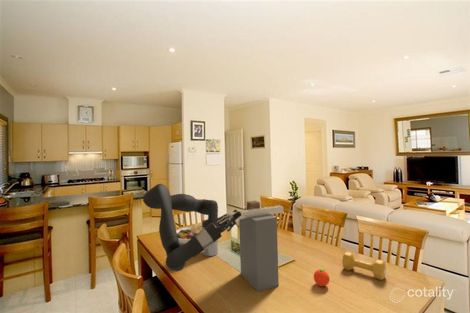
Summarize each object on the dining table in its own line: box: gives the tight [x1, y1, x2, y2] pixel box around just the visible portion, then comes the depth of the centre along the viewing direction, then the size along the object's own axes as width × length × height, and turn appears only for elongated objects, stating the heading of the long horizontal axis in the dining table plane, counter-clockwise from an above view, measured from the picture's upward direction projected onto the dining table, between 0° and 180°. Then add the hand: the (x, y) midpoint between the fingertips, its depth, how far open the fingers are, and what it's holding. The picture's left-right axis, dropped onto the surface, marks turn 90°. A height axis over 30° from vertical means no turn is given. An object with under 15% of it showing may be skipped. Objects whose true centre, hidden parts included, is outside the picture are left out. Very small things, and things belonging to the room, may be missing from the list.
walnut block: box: [246, 200, 261, 210], centre depth 123 cm, size 5×5×5 cm
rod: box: [227, 204, 284, 221], centre depth 115 cm, size 3×28×3 cm, turn 113°
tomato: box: [313, 268, 330, 287], centre depth 112 cm, size 8×7×7 cm
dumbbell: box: [341, 251, 387, 281], centre depth 121 cm, size 19×9×8 cm, turn 46°
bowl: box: [176, 225, 202, 245], centre depth 177 cm, size 30×30×8 cm
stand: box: [238, 214, 280, 293], centre depth 118 cm, size 18×11×32 cm, turn 23°
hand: (238, 212), depth 111 cm, fingers closed on rod, 3 cm apart
